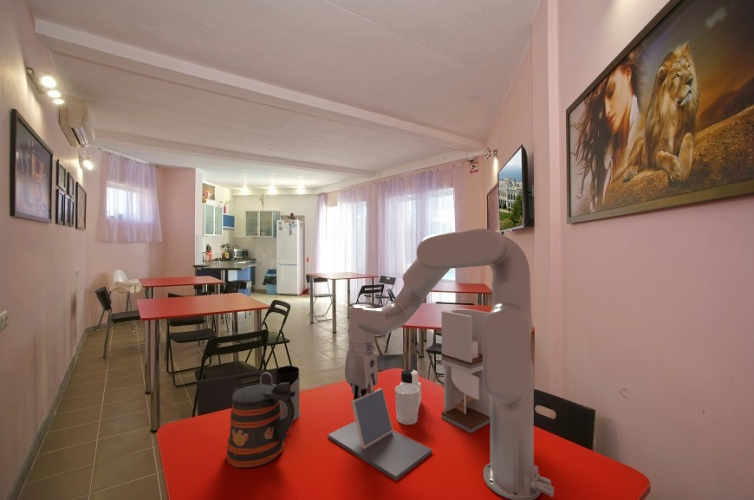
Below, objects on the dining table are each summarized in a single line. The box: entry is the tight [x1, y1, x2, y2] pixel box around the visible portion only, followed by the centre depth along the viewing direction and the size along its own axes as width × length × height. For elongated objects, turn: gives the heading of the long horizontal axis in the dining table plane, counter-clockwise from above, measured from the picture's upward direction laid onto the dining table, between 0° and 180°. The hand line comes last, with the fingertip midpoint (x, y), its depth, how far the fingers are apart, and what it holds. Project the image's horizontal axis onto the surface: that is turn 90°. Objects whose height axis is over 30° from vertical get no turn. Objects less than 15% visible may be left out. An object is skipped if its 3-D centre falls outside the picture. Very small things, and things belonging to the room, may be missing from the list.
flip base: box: [327, 420, 433, 481], centre depth 92 cm, size 26×15×1 cm, turn 46°
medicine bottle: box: [399, 368, 422, 409], centre depth 117 cm, size 7×7×12 cm
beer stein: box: [226, 382, 295, 469], centre depth 88 cm, size 19×15×20 cm
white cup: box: [394, 384, 420, 426], centre depth 106 cm, size 8×8×10 cm
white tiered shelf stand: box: [441, 307, 490, 434], centre depth 106 cm, size 11×11×35 cm
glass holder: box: [259, 365, 302, 421], centre depth 109 cm, size 9×14×15 cm, turn 81°
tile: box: [350, 387, 394, 450], centre depth 93 cm, size 13×12×1 cm
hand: (359, 407), depth 97 cm, fingers closed
